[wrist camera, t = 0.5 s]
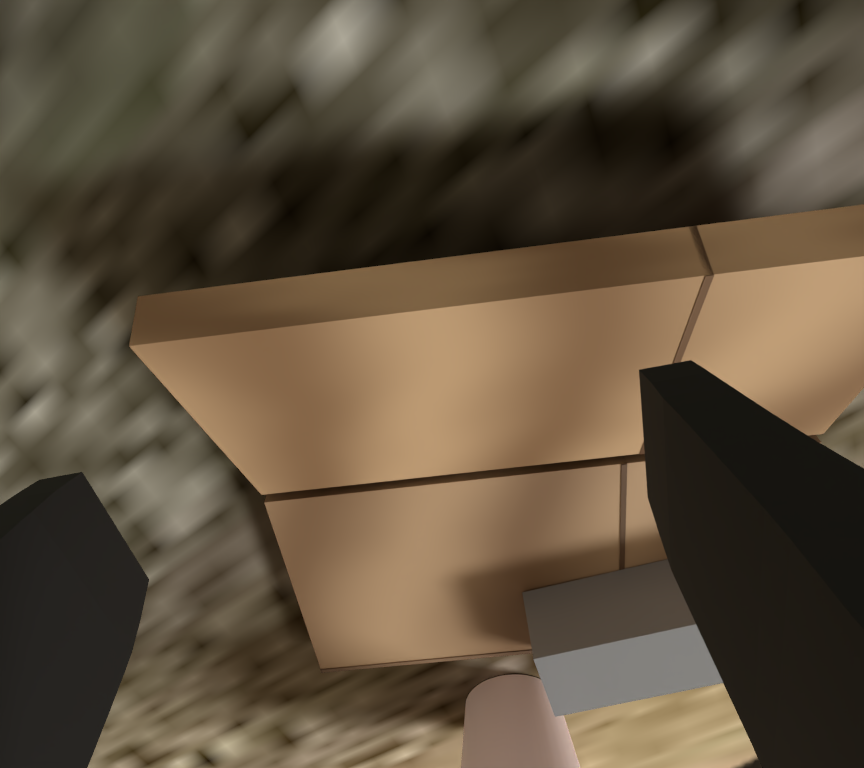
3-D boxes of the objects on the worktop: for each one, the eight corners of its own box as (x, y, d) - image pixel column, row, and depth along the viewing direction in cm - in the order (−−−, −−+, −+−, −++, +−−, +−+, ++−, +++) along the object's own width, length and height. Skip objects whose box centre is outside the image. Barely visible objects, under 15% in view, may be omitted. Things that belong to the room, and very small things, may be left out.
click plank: (263, 457, 21) (261, 495, 20) (137, 295, 14) (128, 347, 13) (808, 396, 20) (823, 434, 19) (962, 191, 13) (992, 241, 12)
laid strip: (801, 417, 20) (822, 443, 19) (767, 601, 25) (782, 630, 24) (271, 476, 21) (263, 503, 20) (325, 643, 26) (321, 673, 25)
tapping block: (742, 542, 21) (777, 606, 19) (748, 604, 23) (782, 671, 21) (522, 592, 22) (533, 659, 20) (542, 649, 24) (554, 716, 22)
